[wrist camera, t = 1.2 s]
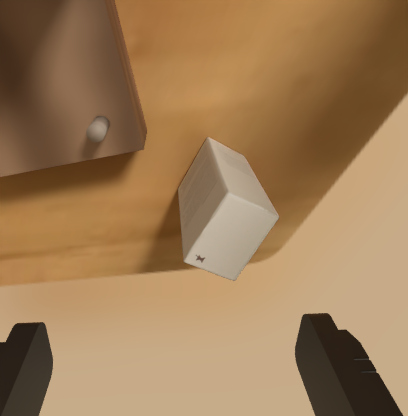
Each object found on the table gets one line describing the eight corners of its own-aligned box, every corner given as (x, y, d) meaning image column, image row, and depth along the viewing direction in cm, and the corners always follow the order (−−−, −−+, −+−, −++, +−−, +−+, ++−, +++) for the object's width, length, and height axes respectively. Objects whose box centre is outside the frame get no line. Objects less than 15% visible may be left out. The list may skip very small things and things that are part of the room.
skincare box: (215, 205, 36) (233, 284, 26) (176, 188, 35) (180, 263, 24) (247, 154, 34) (282, 217, 23) (207, 133, 32) (225, 191, 22)
